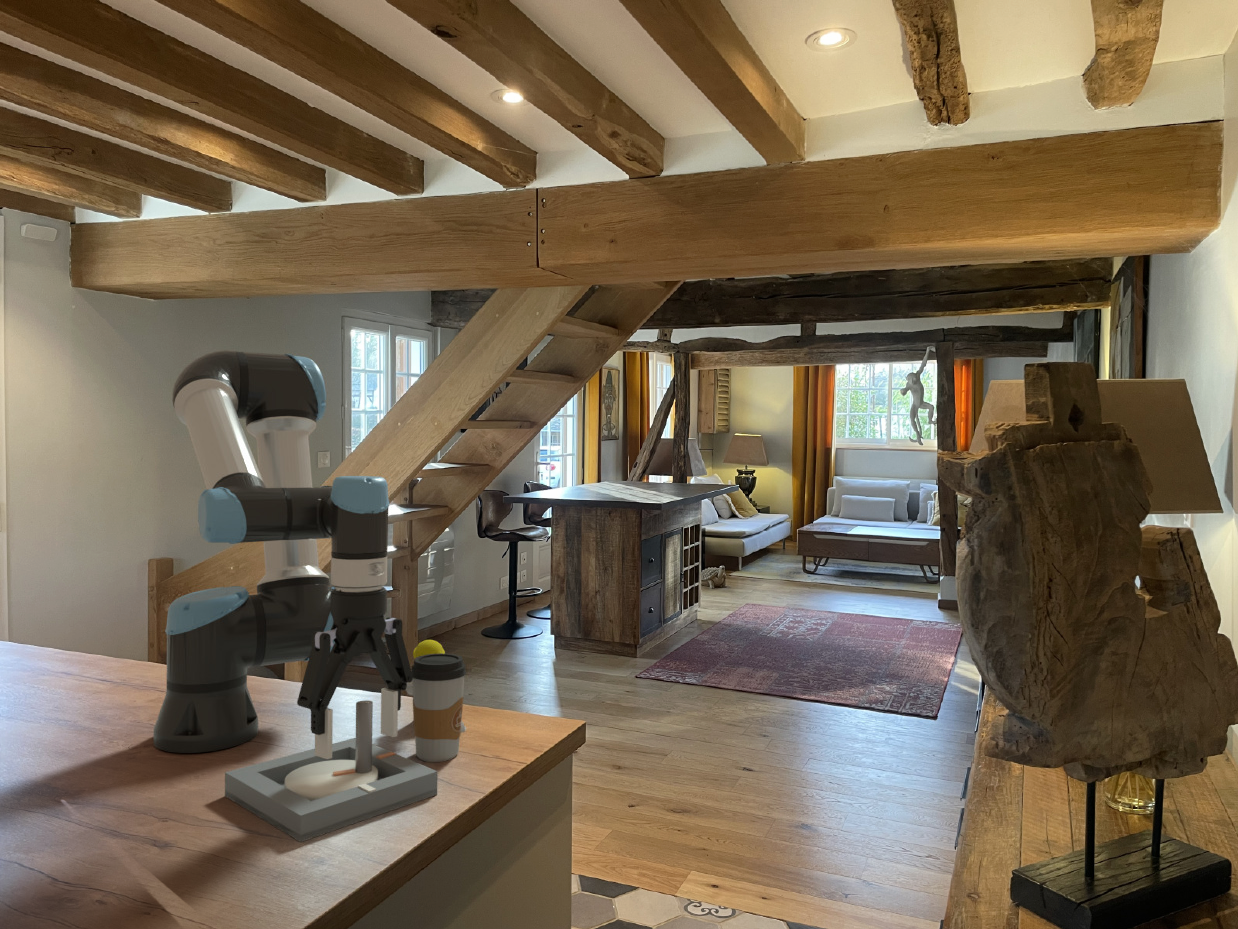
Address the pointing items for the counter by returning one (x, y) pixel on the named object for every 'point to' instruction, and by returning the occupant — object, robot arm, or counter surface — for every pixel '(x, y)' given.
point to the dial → (339, 765)
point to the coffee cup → (437, 705)
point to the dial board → (308, 819)
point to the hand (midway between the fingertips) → (357, 745)
